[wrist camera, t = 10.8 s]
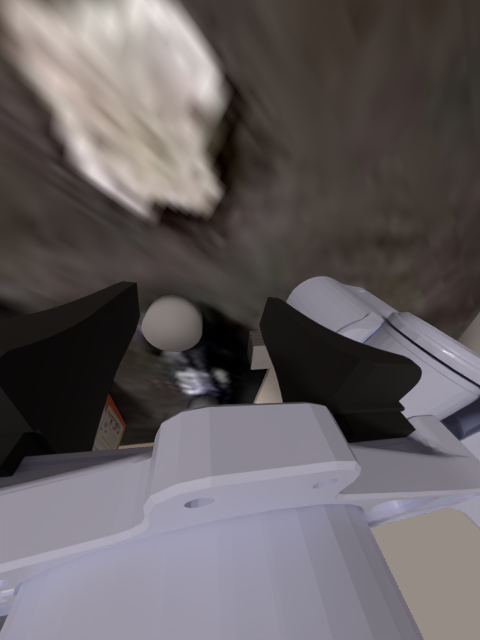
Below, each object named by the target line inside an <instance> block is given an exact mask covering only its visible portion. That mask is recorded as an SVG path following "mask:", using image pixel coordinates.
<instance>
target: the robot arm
mask: <svg viewBox="0 0 480 640" xmlns="http://www.w3.org/2000/svg"><path fill="white" fill-rule="evenodd" d="M139 317H140V313H139V302H138V292H137V283H135V282H125V281H123V282H119V283H117V284H114V285H112V286H110V287H107V288H105V289H103V290H100V291H98V292H96V293H93V294H91V295H88V296H86V297H83V298H81V299H78V300H75V301H73V302H70V303H67V304H64V305H61V306H58V307H55V308H51V309H48V310H44V311H41V312H37V313H32V314H28V315H24V316H19V317H15V318H11V319H6V320H1V321H0V616H5V615H8V616H7V618H6V620H5V623H4V625H3V627H2V629H1V632H0V640H424V639H423V637H422V635H421V633H420V631H419V628H418V626H417V624H416V622H415V620H414V618H413V616H412V614H411V612H410V610H409V608H408V606H407V604H406V602H405V600H404V598H403V595H402V593H401V591H400V589H399V587H398V585H397V583H396V581H395V579H394V577H393V575H392V573H391V571H390V569H389V567H388V565H387V562H386V561H385V558H384V556H383V554H382V552H381V550H380V548H379V546H378V544H377V542H376V540H375V538H374V536H373V534H372V532H371V530H370V528H372V527H376V526H380V525H383V524H387V523H391V522H394V521H398V520H402V519H405V518H409V517H413V516H417V515H421V514H425V513H429V512H433V511H437V510H442V509H446V508H448V507H449V508H452V509H455V510H458V511H460V512H462V513H463V514H465V515H466V516H467V517H468V518H469V519H470V520H471V521H472V522H473V523H474V524H475V525H476V526H477V527H478V528H479V529H480V355H478V354H477V353H475V352H473V351H472V350H470V349H469V348H467V347H465V346H464V345H462V344H461V343H459V342H457V341H456V340H454V339H453V338H451V337H449V336H448V335H446V334H444V333H443V332H441V331H440V330H438V329H436V328H435V327H433V326H431V325H430V324H428V323H426V322H425V321H423V320H421V319H419V318H418V317H416V316H414V315H412V314H411V313H409V312H400V313H399V312H398V311H396V310H395V309H393V308H392V307H390V306H389V305H387V304H386V303H384V302H383V301H381V300H380V299H378V298H377V297H375V296H374V295H372V294H371V293H369V292H368V291H366V290H365V289H363V288H360V287H354V286H348V285H344V284H341V283H339V282H338V281H336V280H334V279H332V278H330V277H314V278H311V279H309V280H307V281H305V282H303V283H301V284H300V285H299V286H297V287H296V288H295V289H294V290H293V292H292V293H291V294H290V296H289V298H288V300H287V303H286V302H284V301H282V300H281V299H279V298H273V297H268V299H267V302H266V305H265V309H264V312H263V315H262V318H261V321H260V324H259V325H260V330H261V334H262V338H263V341H264V344H265V347H266V349H267V352H268V354H269V357H270V359H271V362H272V364H273V367H274V370H275V373H276V376H277V380H278V384H279V388H280V392H281V397H282V401H283V403H260V404H231V405H207V406H202V407H196V408H191V409H185V410H183V411H181V412H180V413H178V414H176V415H174V416H172V417H171V418H169V419H167V420H166V421H164V422H163V423H162V424H161V426H160V428H159V430H158V432H157V434H156V436H155V441H154V446H152V447H140V448H128V449H114V450H102V451H92V449H93V445H94V442H95V438H96V434H97V431H98V427H99V424H100V420H101V417H102V413H103V410H104V407H105V404H106V401H107V397H108V394H109V391H110V388H111V385H112V382H113V379H114V377H115V374H116V371H117V369H118V366H119V364H120V362H121V360H122V358H123V356H124V354H125V352H126V350H127V348H128V346H129V344H130V342H131V339H132V337H133V335H134V333H135V331H136V328H137V324H138V321H139Z"/></svg>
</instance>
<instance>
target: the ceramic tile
mask: <svg viewBox="0 0 480 640" xmlns="http://www.w3.org/2000/svg"><path fill="white" fill-rule="evenodd" d="M260 403H283V401H282V397H281V392H280V388H279V384H278V380H277V376H276V373H275V370H274V368H268V370H267V372H266V374H265V377H264V379H263V382H262V384H261V386H260V389H259V391H258V394H257V396H256V398H255V401H254V404H260Z"/></svg>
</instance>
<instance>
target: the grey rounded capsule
mask: <svg viewBox="0 0 480 640" xmlns="http://www.w3.org/2000/svg"><path fill="white" fill-rule="evenodd" d="M207 405H219V401H218V400H217V399H216V398H214V397H211V396H199V397H196V398H194V399H192V400H191V401H190V402H189V403H188V407H187V409H191V408H196V407H202V406H207Z"/></svg>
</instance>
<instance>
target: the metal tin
mask: <svg viewBox="0 0 480 640" xmlns="http://www.w3.org/2000/svg"><path fill="white" fill-rule="evenodd" d="M248 359H249V363H250V368H251V370H255V369H268V368H274V367H273V364H272V362H271V359H270V357H269V354H268V352H267V349H266V347H265V344H264V341H263V338H262V334H261V331H249V342H248Z"/></svg>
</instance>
